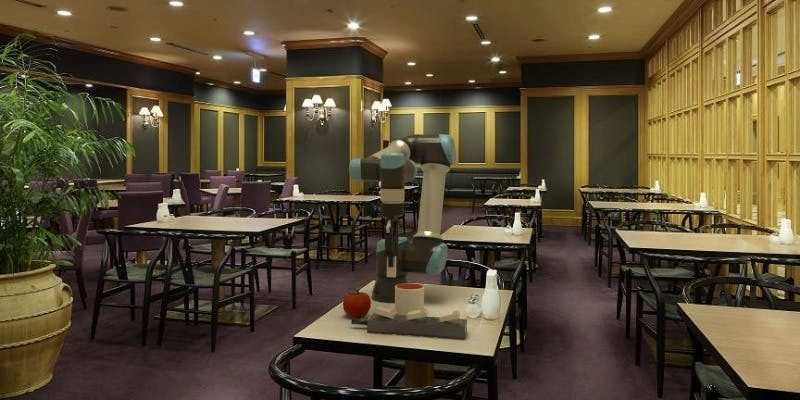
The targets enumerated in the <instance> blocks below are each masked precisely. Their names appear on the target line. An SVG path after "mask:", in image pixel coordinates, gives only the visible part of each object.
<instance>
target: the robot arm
mask: <svg viewBox="0 0 800 400" xmlns="http://www.w3.org/2000/svg"><path fill="white" fill-rule="evenodd" d="M456 160H457V151H456V145H455V141H454V139H453V137H452V135H449V134H441V133H439V134H438V133H437V134H435V133H433V134H432V133H431V134H429V133H428V134H426V133H425V134H423V133H422V134H419V133H418V134H417V133H416V134H408V135H406V136H402V137H400V138H398V139H395V140H393V141H391V142H390V143H389V144H388V146H387V147H385V148H384V149H381V150H380V151H377V152H376V153H373V154H371V155H369V156H367V157H366V158H353V159H352V160H351V161H350V162H349V166H348V174H349V177H350V179H351V180H352V181H354V182H380V185H379V186H380V188H379V189H380V190H379V191H378V195H380V197H379V198H380V199H379V200H380V204H379V208H380V209H379V213H380V215H382V216H385V217H386V220H385V221H384V226H383V233H384V238H383V239H380V240H378V241H377V244H376V251H375V252H376V278H375V281H374V285H373V287H372V290H371V299H372V300H375V301H377V302H382V303H395V286H396V285H398V284H404V283H409V281H408V273H410V274H411V273H412V274H422V275H423V274H425V275H439V274H441V273H442V271H443V270H444V268H445V267H446V264H447V258H448V253H449V252H448V250H449V249H448V245H447V244H446V243H444V242H445V241H444V238H443V237H442V236H441V229H442V228H441V227H442V217H443V207H444V197H445V185H446V174H447V173H448V172H449V171H450V170H451V166H453V165H455V164H456ZM417 165H419V166H420V169H421V171H422V172H423V175H422V183H421V185H422V186H421V193H420V195H421V196H420V203H419V204H420V205H419V214H418V225H417V232H416V233H415V234H414V235H413V236H412V241H409V240H408V237H406V236H400V235H399V234H400V232H399V231H400V225H401V224H400V220H399V217H398V216H403V215H404V214H405V204H404V201H405V183H409V182H411V181H413V180H414V179H416V178H417V177H416V176H417V175H418V166H417Z"/></svg>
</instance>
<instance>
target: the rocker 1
mask: <svg viewBox="0 0 800 400" xmlns="http://www.w3.org/2000/svg"><path fill="white" fill-rule="evenodd" d="M374 313H376V314H379V315H382V316H385V317H388V318H392V319H394V317H395V316H396V313H397V311H395V309H391V308H388V307H385V306H382V305H378V306H377V307H376V308H375V312H374Z"/></svg>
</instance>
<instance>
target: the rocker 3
mask: <svg viewBox="0 0 800 400" xmlns="http://www.w3.org/2000/svg"><path fill="white" fill-rule="evenodd" d="M438 317H439V320H440V322H444V321H449V320H455V319H461V312H460V310H453V311H450V312H443V313H439V316H438Z"/></svg>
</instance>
